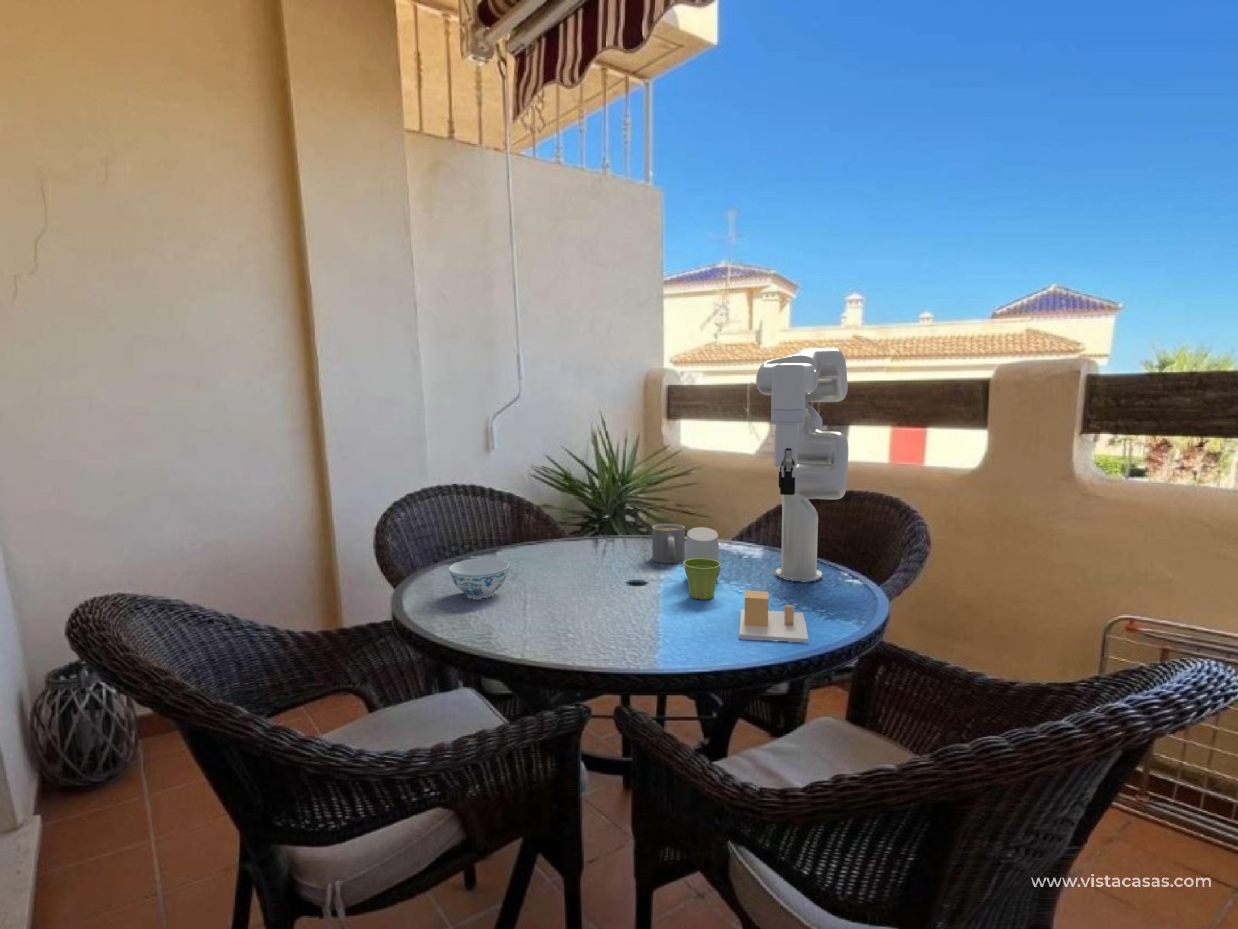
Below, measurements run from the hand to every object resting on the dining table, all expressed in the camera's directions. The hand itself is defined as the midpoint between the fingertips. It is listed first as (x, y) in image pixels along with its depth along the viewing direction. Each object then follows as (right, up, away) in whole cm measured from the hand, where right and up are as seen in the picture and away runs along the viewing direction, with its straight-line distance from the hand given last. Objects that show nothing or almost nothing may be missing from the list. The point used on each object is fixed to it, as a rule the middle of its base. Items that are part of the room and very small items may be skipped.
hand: (786, 491), depth 152 cm
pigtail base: (-5, -30, -9) cm, 31 cm away
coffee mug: (-24, -23, +48) cm, 58 cm away
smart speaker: (-16, -26, +27) cm, 41 cm away
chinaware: (-75, -28, +16) cm, 81 cm away
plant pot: (-18, -27, +13) cm, 35 cm away
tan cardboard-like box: (-9, -29, -8) cm, 31 cm away
